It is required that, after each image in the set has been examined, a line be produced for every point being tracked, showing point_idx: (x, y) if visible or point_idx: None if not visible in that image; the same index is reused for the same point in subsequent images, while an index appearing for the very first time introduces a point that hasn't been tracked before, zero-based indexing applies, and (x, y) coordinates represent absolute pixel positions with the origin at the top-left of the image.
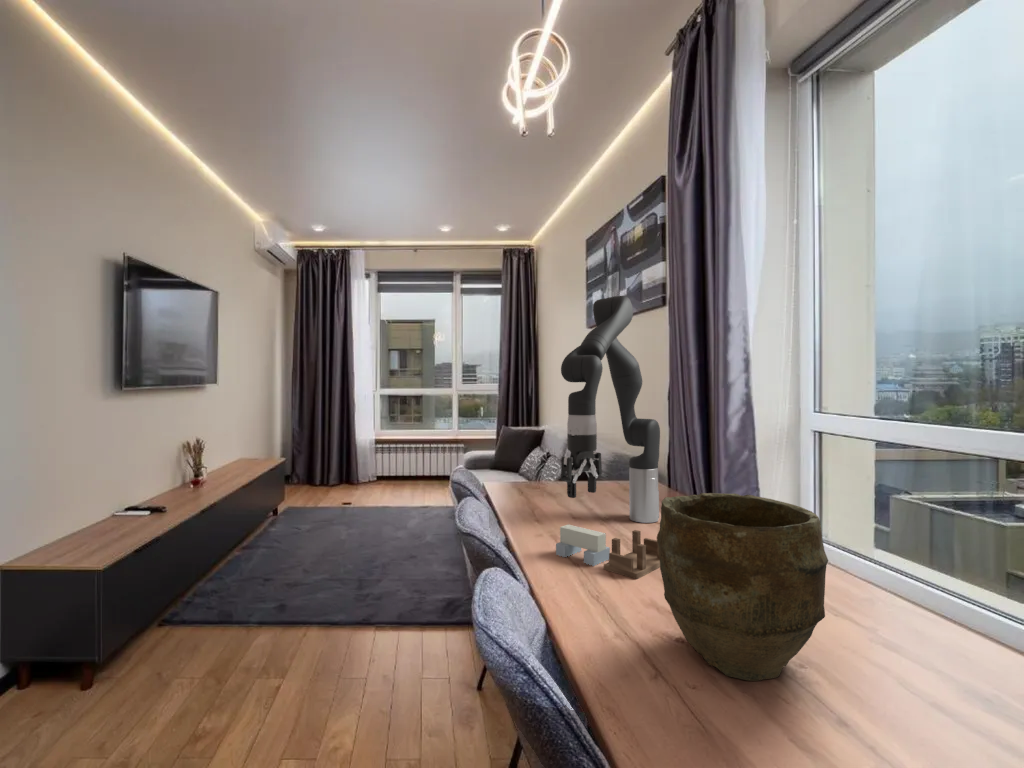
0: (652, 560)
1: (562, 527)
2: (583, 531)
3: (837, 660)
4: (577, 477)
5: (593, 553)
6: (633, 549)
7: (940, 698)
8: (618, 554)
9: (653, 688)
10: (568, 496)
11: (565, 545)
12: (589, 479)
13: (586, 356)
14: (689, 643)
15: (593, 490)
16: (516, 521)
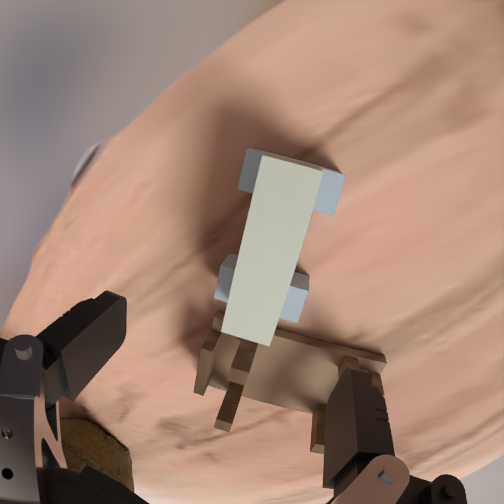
0: (301, 398)
1: (261, 167)
2: (250, 271)
3: (146, 484)
4: (59, 438)
5: (218, 296)
6: (342, 363)
7: (143, 499)
8: (207, 367)
9: None
10: (109, 293)
11: (244, 188)
12: (346, 453)
13: None
14: (66, 417)
15: (328, 410)
16: None
